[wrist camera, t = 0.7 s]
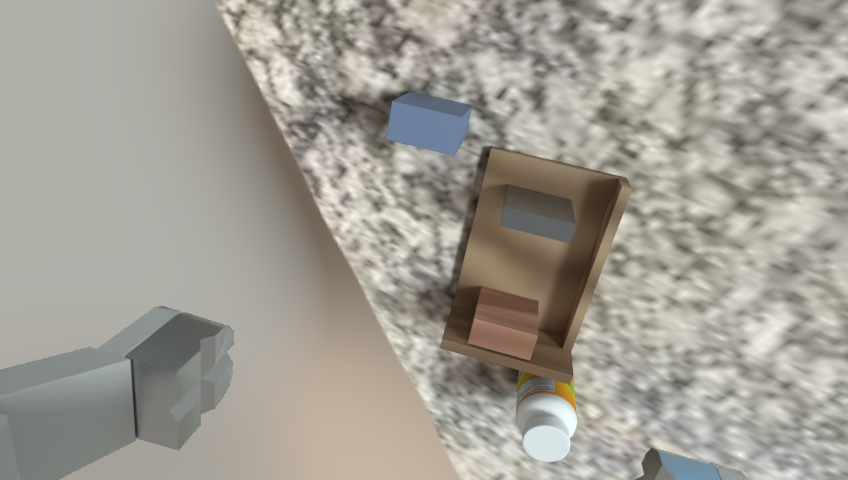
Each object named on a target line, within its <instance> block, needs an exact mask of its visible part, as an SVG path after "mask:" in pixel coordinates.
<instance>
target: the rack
mask: <svg viewBox="0 0 848 480" xmlns="http://www.w3.org/2000/svg"><path fill="white" fill-rule="evenodd" d="M509 185H513V186H517V187H521V188H525V189H529V190H533V191H538V192H542V193H546V194H550V195H554V196H558V197H562V198H566V199H571V200H572V204H573V210H574V216H575V221H576V226H575V229H574V232H573V235H572V238H571V241H570V244H569V243H565V242H561V241H557V240H554V239H550V238H546V237H542V236H538V235H534V234H530V233H526V232H522V231H518V230H514V229H510V228H506V227H502V226H499V225H500V220H501V216H502V211H503V206H504V201H505V197H506V194H507V190H508V186H509ZM631 191H632V187H631V186H630V184H629V182H628V180H627V178H625V177H621V176H617V175H612V174H608V173H604V172H600V171H595V170H591V169H587V168H583V167H578V166H574V165H570V164H566V163H561V162H557V161H553V160H548V159H544V158H540V157H536V156H531V155H527V154H523V153H519V152H514V151H510V150H506V149H502V148H497V147H493V146H492V147H491V151H490V155H489V159H488V163H487V167H486V171H485V175H484V180H483V184H482V188H481V192H480V196H479V200H478V204H477V208H476V212H475V216H474V220H473V224H472V229H471V233H470V237H469V241H468V245H467V249H466V253H465V257H464V261H463V265H462V269H461V273H460V278H459V282H458V286H457V290H456V294H455V298H454V302H453V306H452V309H451V312H450V315H449V319H448V322H447V325H446V328H445V331H444V335H443V338H442V342H441V346H440V348H442V349H445V350H449V351H452V352H456V353H459V354H463V355H466V356H470V357H474V358H477V359H481V360H484V361H488V362H491V363H495V364H498V365H502V366H505V367H509V368H512V369H516V370H519V371H523V372H527V373H530V374H534V375H537V376H541V377H544V378H548V379H551V380H555V381H558V382H562V383H565V384H569V385H570V383H571V380H572V378H573V366H572V355H571V351H572V348H573V345H574V343H575V340H576V337H577V335H578V332H579V329H580V327H581V324H582V321H583V319H584V316H585V313H586V311H587V308H588V305H589V303H590V300H591V297H592V295H593V292H594V289H595V287H596V284H597V281H598V279H599V276H600V273H601V271H602V268H603V266H604V263H605V260H606V258H607V255H608V252H609V250H610V247H611V244H612V242H613V239H614V236H615V234H616V231H617V228H618V226H619V223H620V220H621V218H622V215H623V212H624V210H625V207H626V204H627V202H628V199H629V196H630V194H631Z"/></svg>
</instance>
